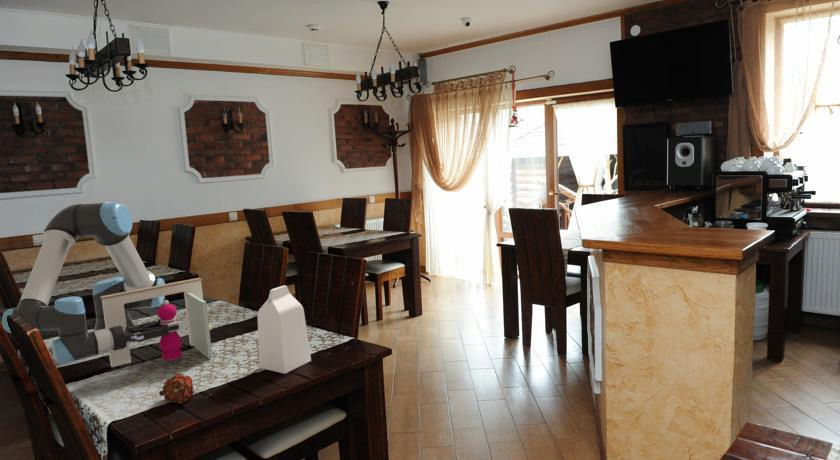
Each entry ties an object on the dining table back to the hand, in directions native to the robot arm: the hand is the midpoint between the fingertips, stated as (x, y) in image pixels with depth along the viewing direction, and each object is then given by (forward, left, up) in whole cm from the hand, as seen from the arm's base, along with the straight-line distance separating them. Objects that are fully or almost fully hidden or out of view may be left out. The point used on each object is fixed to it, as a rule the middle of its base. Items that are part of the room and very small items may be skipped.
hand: (184, 322), depth 193 cm
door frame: (-13, -5, -13) cm, 19 cm away
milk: (+33, +20, -13) cm, 41 cm away
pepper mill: (0, -5, -11) cm, 12 cm away
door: (-2, +6, -12) cm, 14 cm away
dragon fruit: (+34, -15, -13) cm, 39 cm away
